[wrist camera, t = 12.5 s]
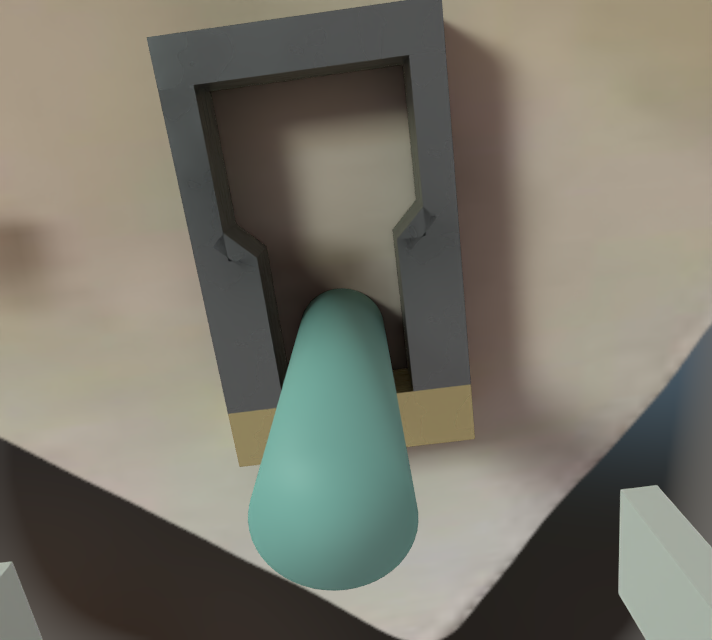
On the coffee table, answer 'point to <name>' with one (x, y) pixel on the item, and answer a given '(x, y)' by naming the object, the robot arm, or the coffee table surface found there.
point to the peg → (336, 455)
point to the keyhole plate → (249, 256)
